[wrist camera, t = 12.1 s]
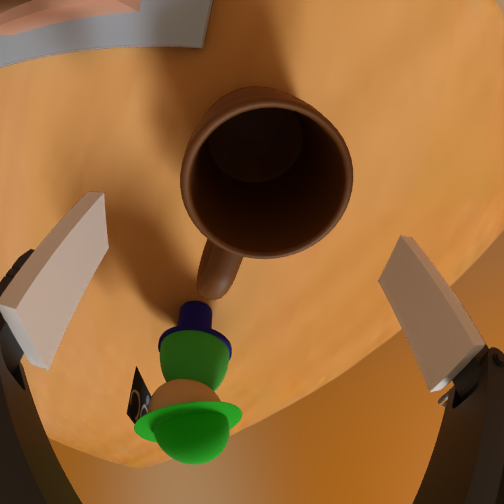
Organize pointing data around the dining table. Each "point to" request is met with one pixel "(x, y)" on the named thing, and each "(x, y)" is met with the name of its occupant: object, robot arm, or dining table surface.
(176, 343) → the toy
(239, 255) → the mug
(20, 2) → the walnut block
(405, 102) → the dining table surface
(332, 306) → the dining table surface
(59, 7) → the plate
